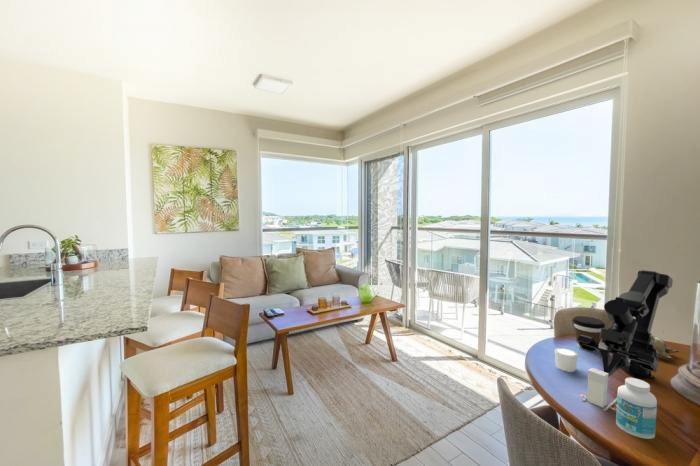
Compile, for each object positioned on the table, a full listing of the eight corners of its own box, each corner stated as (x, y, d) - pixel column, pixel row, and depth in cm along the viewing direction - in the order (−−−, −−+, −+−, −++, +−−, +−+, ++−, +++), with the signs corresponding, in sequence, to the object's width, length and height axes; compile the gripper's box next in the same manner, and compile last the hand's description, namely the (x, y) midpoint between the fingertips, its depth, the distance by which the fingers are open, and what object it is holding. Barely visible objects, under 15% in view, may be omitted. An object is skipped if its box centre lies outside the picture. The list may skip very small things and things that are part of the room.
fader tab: (590, 397, 91) (591, 367, 91) (607, 404, 88) (608, 373, 87) (586, 400, 90) (587, 370, 89) (603, 408, 86) (604, 376, 86)
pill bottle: (608, 422, 82) (610, 374, 81) (634, 422, 82) (637, 374, 81) (634, 443, 75) (637, 391, 74) (663, 442, 75) (666, 390, 74)
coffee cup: (606, 356, 119) (608, 326, 118) (572, 350, 125) (573, 321, 124) (601, 345, 128) (603, 318, 127) (570, 340, 134) (571, 314, 133)
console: (595, 386, 99) (595, 382, 99) (631, 401, 91) (631, 396, 91) (575, 401, 91) (575, 396, 91) (612, 418, 84) (613, 413, 84)
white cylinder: (581, 376, 105) (582, 357, 104) (559, 374, 106) (560, 355, 106) (571, 366, 112) (571, 348, 111) (550, 365, 113) (551, 346, 113)
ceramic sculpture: (630, 323, 129) (681, 337, 117) (628, 342, 131) (678, 358, 118) (623, 329, 123) (676, 344, 111) (620, 349, 124) (672, 366, 112)
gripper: (579, 310, 101) (562, 351, 96) (656, 328, 85) (641, 378, 80) (589, 328, 106) (573, 367, 101) (664, 347, 90) (650, 396, 85)
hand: (606, 376), depth 91 cm, fingers closed
